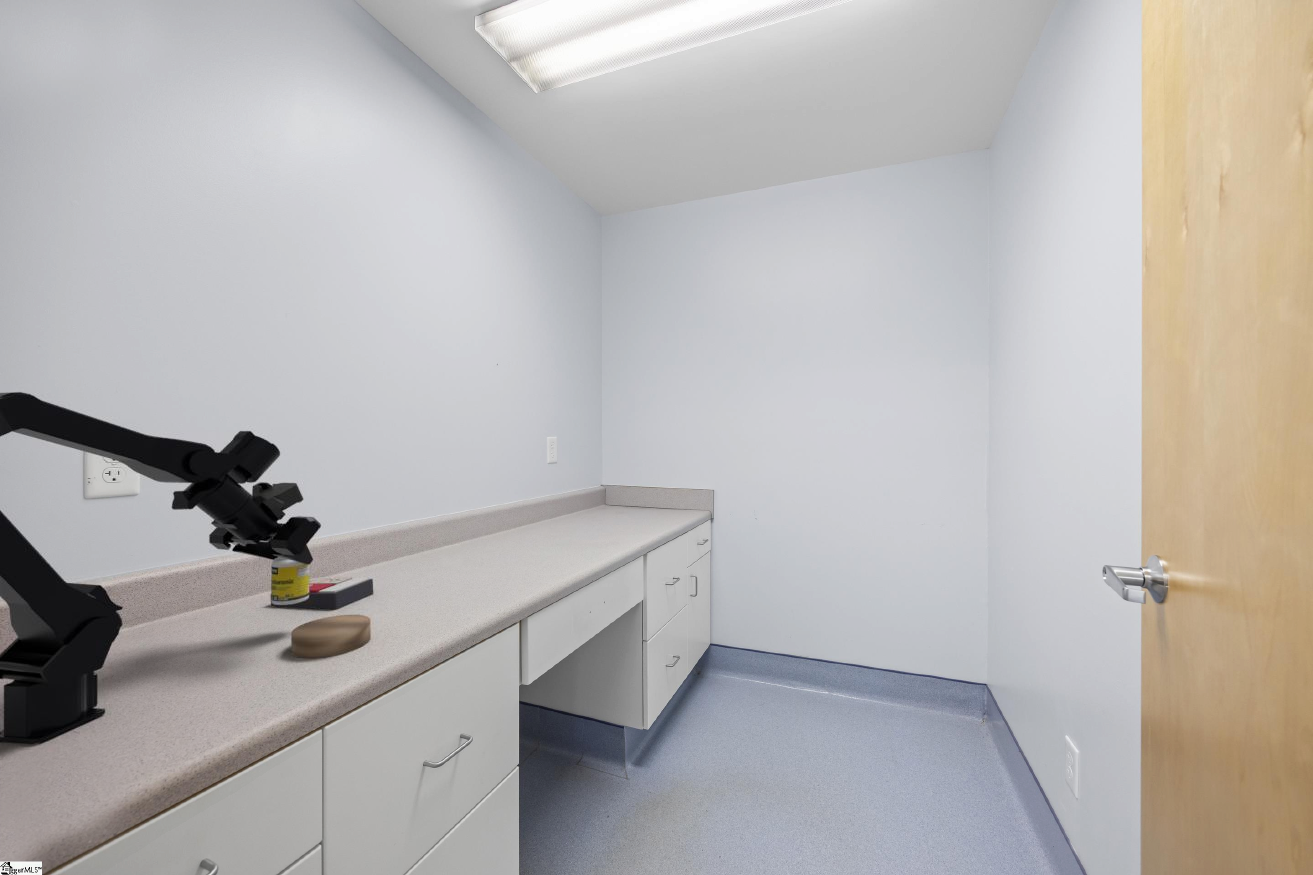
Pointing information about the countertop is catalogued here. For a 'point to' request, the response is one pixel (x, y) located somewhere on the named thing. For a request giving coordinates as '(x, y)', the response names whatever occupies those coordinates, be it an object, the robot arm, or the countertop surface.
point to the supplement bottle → (289, 581)
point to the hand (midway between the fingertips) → (298, 561)
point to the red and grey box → (334, 593)
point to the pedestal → (330, 636)
